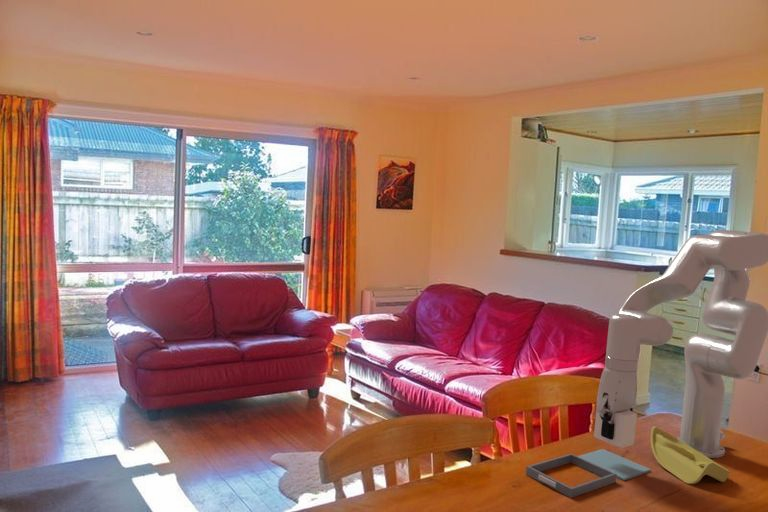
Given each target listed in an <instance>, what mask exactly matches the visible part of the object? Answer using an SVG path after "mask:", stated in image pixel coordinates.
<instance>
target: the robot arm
mask: <svg viewBox="0 0 768 512" xmlns="http://www.w3.org/2000/svg"><path fill="white" fill-rule="evenodd" d="M767 263H768V234H766V233H764V232H756V231H745V230H744V231H743V230H742V231H741V230H727V229H721V230H720V229H719V230H714V231H712V232H710V233H709V234H695V235H692V236H690V237H689V238H688V239H687V240H686V241H685V242H684V243H683V245H682V246H681V248H680V250H678V252H677V254H675V257H674V258H673V259H672V261H671V262H670V264H669V265H668V267H667V268H666V269H665V271H664V272H663V274H662V275H661V276H659V277H657V278H656V279H652V280H651V281H650V282H647V283H646V284H644V285H643V286H641V287H639V288H638V289H637V290H635V291H633V293H631V295H629V297H628V298H627V299H626V300H625V302H624V304H623V305H622V306H621V307H620V310H619V311H618V313H614V314H612V315H611V316H610V318H609V322H608V331H607V340H606V350H605V351H606V352H605V353H606V354H605V359H604V360H605V361H604V368H603V369H602V372H601V376H600V379H599V380H600V381H599V384H598V390H597V397H596V408H597V407H598V408H597V410H595V412H596V411H597V413H598V414H599V415H600V417H601V420H602V428H601V436H603V437H605V438H608V439H610V440H612V439H613V436H614V426H615V424H613V421H614V417H615V413H616V412H618V411H622V410H629V411H632V412H634V409H635V408H636V406H637V404H638V403H637V393H638V365H639V358H640V357H639V356H640V355H639V354H640V346H641V345H645V346H651V347H652V346H653V347H654V346H655V347H660V346H663V345H665V344H667V343H669V342H670V340H671V339H672V337H673V334H674V328H673V325H672V323H671V322H670V321H669V320H668V319H666V318H665V317H663V316H660V315H656V314H652V313H648V312H649V311H650V310H651V309H653V308H654V307H657V306H658V305H660V304H664V303H666V302H673V301H677V300H681V299H686V298H687V297H688V298H689V297H690V296H692V295H693V294H694V293H695V291H696V290H697V289H698V288H699V285H701V283H702V281H703V279H704V278H705V277H706V275H707V274H708V273H709V272H710V271H711V270H712V269H713V273H714V276H713V277H714V278H713V282H712V286H711V288H710V291H709V294H708V297H707V301H706V302H705V306H704V309H703V313H702V322H703V325H704V326H705V327H706V328H708V329H710V330H713V331H715V332H720V333H723V334H727V335H732V336H734V339H730V338H726V337H723V336H719V335H714V334H711V333H710V334H709V333H696V334H693V335H691V336H690V337H689V338H688V339H687V340H686V342H685V345H684V363H685V382H684V383H685V384H684V393H683V403H682V411H681V412H682V413H681V423H680V433H679V436H677V437H675V438H677V439H679V440H680V441H682V442H684V443H685V444H687V445H689V446H690V447H692V448H693V449H695V450H697V451H698V452H700V453H701V454H703V455H705V456H706V457H708V458H709V459H717V458H719V459H720V458H722V457H724V456H725V454H726V450H725V448H724V447H723V446H722V445H720V440H722V439H724V438H725V437H726V433H725V432H724V431H722V430H721V428H722V420H723V418H722V417H723V409H724V400H725V393H726V392H725V390H726V389H725V383H724V380H723V377H722V376H725V377H728V378H731V379H735V380H745V379H746V380H747V378H749V377H750V376H751V375H753V373H754V372H755V370H756V367H757V364H758V362H759V359H760V355H761V353H762V349H763V348H764V344H765V340H766V339H767V335H768V310H767V308H766V307H765V306H764V305H762V304H760V303H757V302H755V301H749V300H746V299H747V295H748V292H749V288H750V277H749V274H748V272H747V269H753V268H758V267H761V266H764V265H766V264H767ZM608 407H610V409H608ZM607 412H610V413H611V414H610V417H609V415H608V414H607Z"/></svg>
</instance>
